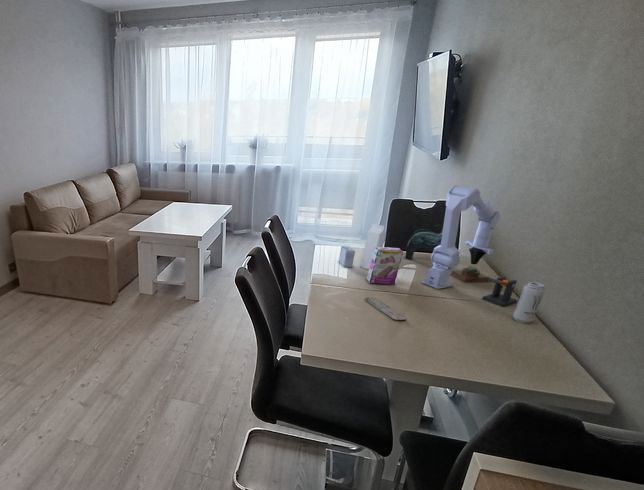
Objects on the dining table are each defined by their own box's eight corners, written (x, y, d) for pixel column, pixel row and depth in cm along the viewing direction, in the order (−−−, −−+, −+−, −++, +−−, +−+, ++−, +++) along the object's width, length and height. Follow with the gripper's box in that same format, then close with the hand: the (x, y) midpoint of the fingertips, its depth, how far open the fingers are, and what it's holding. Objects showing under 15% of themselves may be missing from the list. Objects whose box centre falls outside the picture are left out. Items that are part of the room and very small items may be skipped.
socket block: (464, 282, 192) (466, 274, 191) (450, 274, 200) (453, 267, 199) (487, 281, 194) (490, 273, 192) (473, 274, 202) (476, 266, 200)
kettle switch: (499, 286, 164) (502, 280, 164) (486, 281, 168) (489, 276, 168) (512, 288, 170) (515, 283, 169) (499, 284, 174) (502, 278, 173)
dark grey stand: (502, 306, 169) (510, 284, 165) (482, 298, 175) (489, 277, 171) (516, 302, 173) (524, 280, 169) (496, 295, 179) (503, 274, 175)
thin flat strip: (373, 298, 174) (373, 296, 173) (407, 319, 155) (407, 317, 155) (362, 299, 173) (362, 297, 173) (395, 320, 154) (395, 318, 154)
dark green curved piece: (446, 263, 215) (458, 226, 207) (446, 267, 210) (457, 229, 202) (404, 256, 225) (413, 220, 217) (403, 259, 220) (412, 222, 212)
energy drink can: (523, 324, 155) (538, 288, 149) (508, 317, 160) (522, 281, 154) (535, 322, 156) (551, 286, 150) (519, 315, 161) (534, 280, 155)
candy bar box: (369, 284, 187) (377, 249, 181) (366, 279, 192) (373, 246, 185) (395, 285, 186) (404, 251, 180) (391, 281, 191) (399, 247, 184)
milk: (371, 270, 203) (381, 227, 194) (360, 267, 207) (369, 224, 198) (377, 268, 206) (388, 225, 197) (366, 264, 211) (376, 222, 202)
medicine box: (352, 267, 206) (355, 251, 203) (343, 267, 207) (346, 250, 203) (346, 262, 214) (349, 246, 210) (338, 261, 214) (341, 245, 210)
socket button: (470, 272, 194) (471, 269, 193) (464, 269, 197) (465, 266, 196) (478, 272, 194) (479, 269, 193) (472, 269, 198) (473, 266, 197)
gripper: (503, 240, 182) (493, 269, 188) (478, 231, 196) (470, 258, 201) (489, 240, 182) (479, 269, 187) (465, 231, 195) (456, 258, 200)
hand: (473, 263), depth 194 cm, fingers closed
